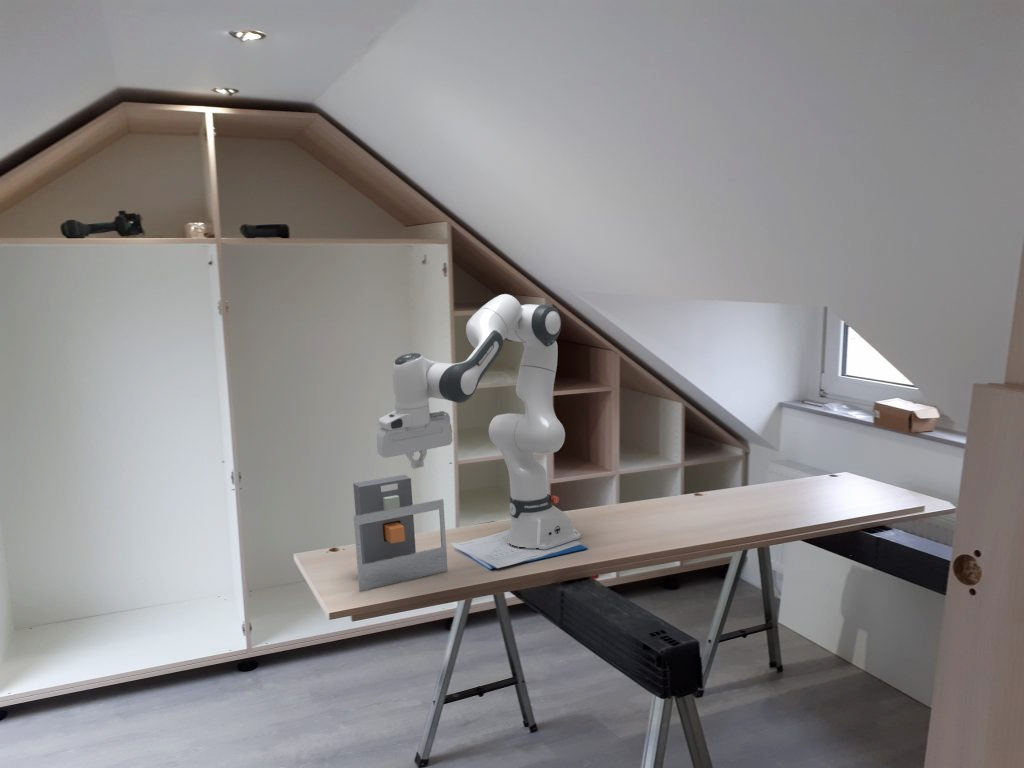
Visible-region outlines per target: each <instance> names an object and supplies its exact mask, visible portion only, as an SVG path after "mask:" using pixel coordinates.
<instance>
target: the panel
mask: <svg viewBox="0 0 1024 768" xmlns="http://www.w3.org/2000/svg"><path fill="white" fill-rule="evenodd" d="M352 485H353V497H354V509H355V512H354V513H355V515H361V514H366V513H371V512H377V511H382V510H387V509H393V508H398V507H403V506H409V505H414V504H413V492H412V491H413V489H412V478H411V477H409V476H407V475H406V474H400V475H396V476H390V477H389V476H387V477H383V478H382V477H381V478H378V479H377V478H376V479H372V480H365V481H364V480H363V481H358V482H353V483H352ZM414 519H415V518H414V514H413V515H407V516H402V517H397V518H392V519H387V520H382V521H376V522H371V523H366V524H361V525H359V527H360V541H361V554H362V564H365V563H370V562H375V561H379V560H384V559H389V558H393V557H398V556H402V555H407V554H412V553H416V552H417V551H416V537H415V523H414V522H415V520H414ZM394 521H397V522H398V523H400V524H401V525H402V526H404V532H405V541H402V542H397V543H392V544H391V543H390V542H389V541H387V540H386V539H385V538H384V536H383V524H384V523H389V522H394Z"/></svg>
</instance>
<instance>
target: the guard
mask: <svg viewBox="0 0 1024 768" xmlns="http://www.w3.org/2000/svg"><path fill="white" fill-rule="evenodd" d="M444 505H445V504H444V499H441V498H440V499H437V500H431V501H425V502H420V503H414V504H413V505H409V506H403V507H398V508H393V509H387V510H382V511H377V512H371V513H366V514H361V515H356V514H355V515H353V527H354V540H355V553H356V565H357V578H358V579H357V580H358V582H357V583H358V589H359V590H358V591H359V592H362V591H367V589H368V590H371V588H372V589H376V588H379V587H384V585H385V586H389V585H393V584H398V583H401V582H405V581H411V580H414V578H415V579H419V578H422V577H423V576H424V577H427V575H428V576H431V575H436V574H441V573H444V572H448V570H449V569H448V568H449V567H448V555H447V554H448V552H447V537H446V520H445V519H446V517H445V506H444ZM433 511H439V512H438V513H439V514H438V515H439V528H440V529H439V531H440V544H441V545H440V546H441V547H440V546H439V547H436V548H431V549H427V550H422V551H421V550H420V551H416V553H412V554H407V555H402V556H398V557H393V558H389V559H384V560H379V561H375V562H370V563H365V564H362V554H361V541H360V527H359V525H361V524H366V523H371V522H376V521H382V520H387V519H392V518H397V517H402V516H407V515H413V516H414V515H417V514H422V513H423V514H424V513H427V512H428V513H429V512H433Z"/></svg>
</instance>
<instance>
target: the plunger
mask: <svg viewBox="0 0 1024 768" xmlns="http://www.w3.org/2000/svg"><path fill="white" fill-rule="evenodd" d="M383 536H384V538H385V539H386V540H387V541H389V542H390V543H391V544H392V543H397V542H402V541H405V532H404V526H402V525H401V524H400V523H398V522H397V521H394V522H389V523H384V524H383Z"/></svg>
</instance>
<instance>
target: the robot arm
mask: <svg viewBox="0 0 1024 768" xmlns="http://www.w3.org/2000/svg"><path fill="white" fill-rule="evenodd" d="M561 328H562V317H561V315H560V312H559V311H558V309H557V308H556V307H554V306H552V305H548V304H532V303H531V304H529V303H527V304H521V303H520V302H519V300H518V299H517V298H516V297H514V295H511V294H508V293H504V294H503V293H502V294H500V295H497V296H495V297H493V298H492V299H491V300H489V301H488V302H487V303H485V304H484V305H482V306H481V307H480V308H479V309H478V310H477V311H476V312H475V313H474V314H473V315H472V316H470V318H469V319H468V321H467V323H466V326H465V334H466V337H467V339H468V341H469V344H471V346H472V347H473V348H474V350H473V351H472V352H471V353H470V355H469V356H468V357H467V359H465V360H464V361H461V362H457V363H450V362H442V361H440V362H439V361H434V360H431V359H428V358H426V357H424V356H423V354H421V353H420V352H419V353H418V352H410V353H406V354H405V353H404V354H402V355H400V356H399V357H397V358H396V359H394V361H393V364H392V365H393V366H392V388H393V393H394V395H395V403H394V410H392V411H391V412H389V413H388V414H385V415H384V416H382V417H380V418H379V419H378V421H377V422H378V423H377V424H378V425H379V426H380V428H379V429H378V431H377V434H376V436H377V437H376V449H377V454H378V455H379V456H380V457H382V458H384V459H386V458H387V459H388V458H391V457H397V456H401V455H405V456H406V458H407V459H408V461H410V467H411V468H412V469H414V470H415V469H419V468H422V467H424V466H425V464H424V460H425V458H426V456H427V454H428V452H427V451H428V450H432V449H436V448H441V447H446V446H450V445H452V442H453V435H452V434H453V432H452V429H451V416H450V414H449V413H448V412H447V411H443V410H442V411H438V412H436V411H435V412H430V411H431V410H430V402H429V399H430V398H432V399H440V400H447V401H450V402H454V403H458V404H462V403H465V402H467V401H468V400H470V399H471V398H472V397H473V395H474V394H475V392H476V390H477V388H478V386H479V383H480V382H481V380H482V379H483V377H484V376H485V374H486V372H487V371H488V370H489V369H490V368H491V366H492V364H494V362H495V361H496V359H497V358H498V356H499V355H500V353H501V352H502V350H503V347H504V341H506V342H507V341H508V342H517V343H518V342H519V343H523V349H524V350H523V352H522V356H521V359H520V364H519V370H518V374H517V381H516V386H515V393H516V395H517V397H518V398H519V399H520V400H521V401H522V402H523V403H524V404H523V405H524V410H525V411H524V412H525V413H524V414H522V413H514V412H513V413H512V412H507V413H502V414H497V415H495V416H494V417H493V418H492V419H491V421H490V422H489V426H488V436H489V440H490V442H492V444H494V446H495V447H496V448H497V449H498V450H499V453H501V456H502V457H503V460H504V462H505V465H506V467H507V470H508V476H509V488H510V491H509V492H510V495H509V513H510V515H509V516H510V525H509V534H508V538H507V543H508V542H509V543H510V544H512V545H515V546H520V547H526V548H525V549H536V548H539V549H538V550H549V549H551V548H554V547H558V546H560V545H563V544H567V543H570V542H573V541H575V540H579V539H581V538H582V537H581V533H580V531H579V530H577V529H575V528H574V526H573V522H572V520H571V518H570V516H569V515H568V514H567V513H565V512H564V511H562V510H561V509H559V508H558V507H556V506H555V505H553V503H554V504H557V503H559V501H560V498H559V496H556V495H551V494H549V493H548V485H547V471H546V468H545V467H544V466H543V464H541V463H540V462H539V461H538V460H537V458H536V457H535V455H534V454H540V455H543V454H550V453H551V454H552V453H556V452H558V451H559V450H560V449H561V448H562V446H563V445H564V443H565V439H566V432H565V428H564V426H563V424H562V423H561V422H560V421H561V420H559V419H558V418H557V416H556V415H557V414H556V413H555V409H554V403H553V393H554V386H555V385H554V384H555V380H556V379H555V378H556V375H557V374H556V373H557V366H558V356H559V355H558V354H559V353H558V352H559V351H558V347H559V346H558V343H557V339H558V337H559V335H560V333H561ZM417 452H418V453H419V457H418V459H414V458H413V457H414V456H415V454H414V453H417ZM509 543H508V544H509ZM510 544H509V545H510ZM512 545H511V546H512Z"/></svg>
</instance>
